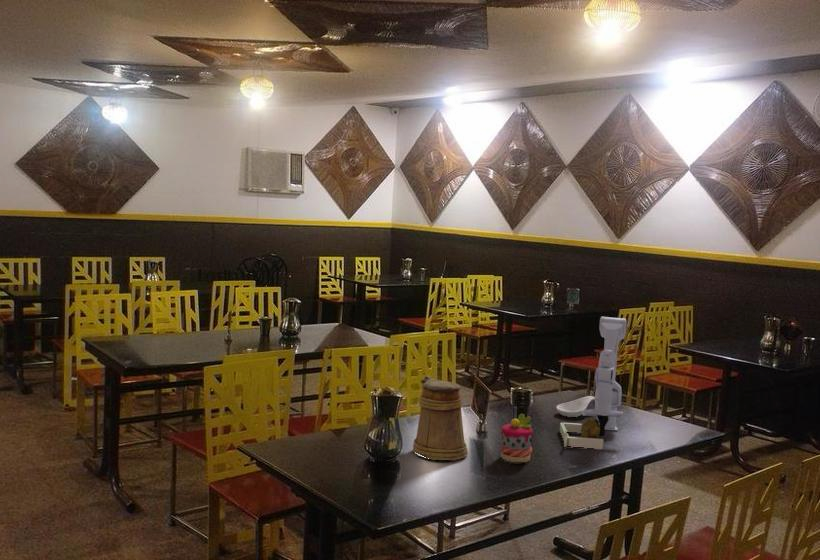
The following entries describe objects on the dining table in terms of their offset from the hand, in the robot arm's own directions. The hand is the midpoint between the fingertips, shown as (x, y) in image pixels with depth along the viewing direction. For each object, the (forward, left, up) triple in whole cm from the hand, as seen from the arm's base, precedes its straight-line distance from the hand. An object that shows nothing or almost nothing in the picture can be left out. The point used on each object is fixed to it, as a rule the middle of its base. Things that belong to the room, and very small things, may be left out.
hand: (601, 435), depth 277 cm
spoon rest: (-38, -2, -3) cm, 38 cm away
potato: (+2, -4, -2) cm, 5 cm away
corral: (0, -7, -2) cm, 7 cm away
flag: (+12, -14, -2) cm, 19 cm away
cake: (+27, -33, -3) cm, 42 cm away
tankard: (+25, -60, -3) cm, 65 cm away
